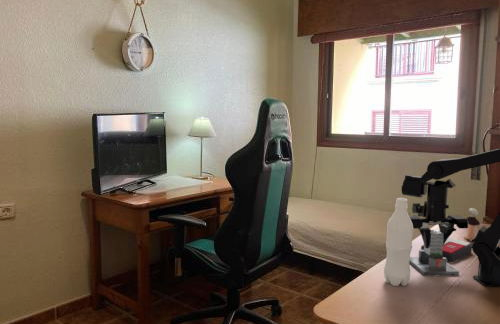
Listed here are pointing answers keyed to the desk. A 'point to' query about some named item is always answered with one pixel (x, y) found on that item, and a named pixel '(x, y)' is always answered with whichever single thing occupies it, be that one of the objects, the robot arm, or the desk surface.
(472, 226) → the grandmother figurine
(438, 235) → the column
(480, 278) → the robot arm
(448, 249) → the button control pad
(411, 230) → the water bottle
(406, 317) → the desk surface
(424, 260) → the stand base
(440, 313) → the desk surface
